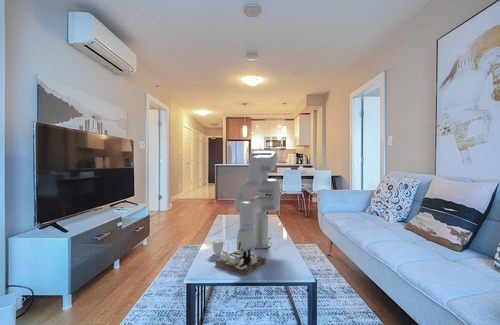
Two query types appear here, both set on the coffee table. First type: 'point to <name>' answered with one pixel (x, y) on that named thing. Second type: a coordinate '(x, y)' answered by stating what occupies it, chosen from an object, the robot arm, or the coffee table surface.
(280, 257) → the coffee table surface
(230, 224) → the coffee table surface
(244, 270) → the switch board
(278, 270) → the coffee table surface
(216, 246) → the cup
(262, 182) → the robot arm
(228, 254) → the tab
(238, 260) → the tab middle
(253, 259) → the tab
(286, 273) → the coffee table surface
